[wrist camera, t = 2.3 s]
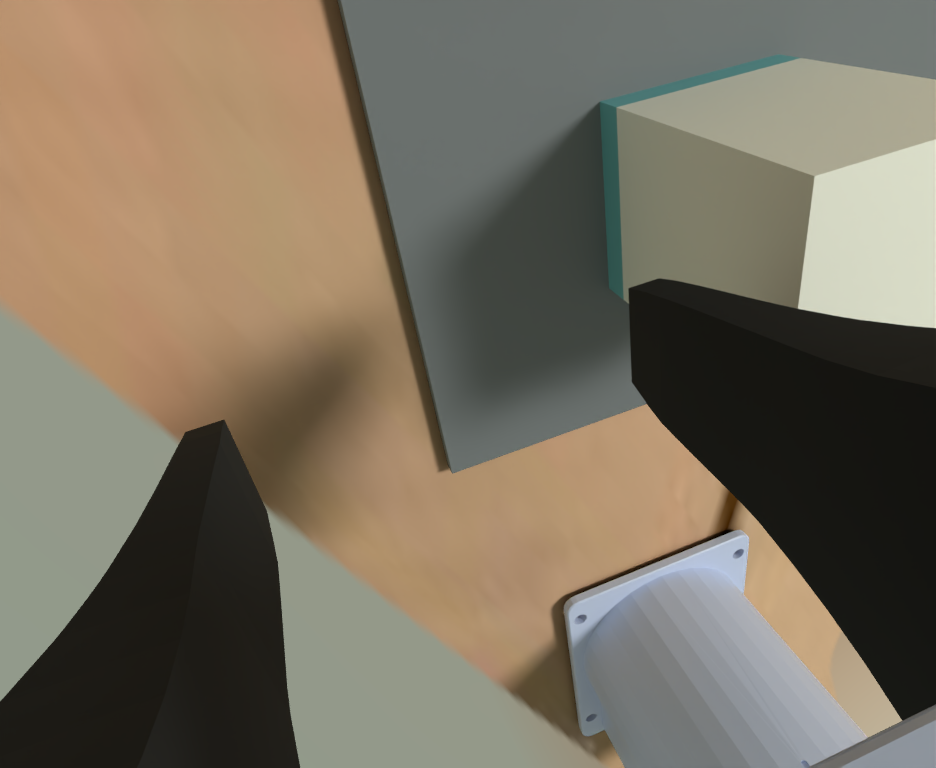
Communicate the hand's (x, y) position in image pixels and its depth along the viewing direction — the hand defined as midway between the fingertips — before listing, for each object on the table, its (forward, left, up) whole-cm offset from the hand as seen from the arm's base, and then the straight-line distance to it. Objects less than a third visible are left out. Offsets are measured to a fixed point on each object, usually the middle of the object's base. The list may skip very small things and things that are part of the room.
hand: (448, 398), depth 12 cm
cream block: (0, -9, -6) cm, 11 cm away
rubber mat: (0, -10, -6) cm, 12 cm away
